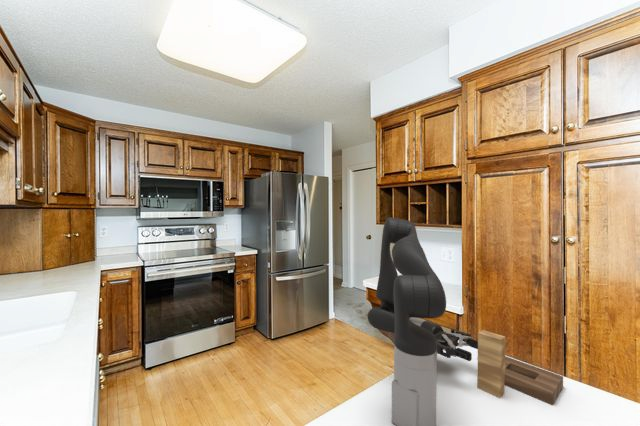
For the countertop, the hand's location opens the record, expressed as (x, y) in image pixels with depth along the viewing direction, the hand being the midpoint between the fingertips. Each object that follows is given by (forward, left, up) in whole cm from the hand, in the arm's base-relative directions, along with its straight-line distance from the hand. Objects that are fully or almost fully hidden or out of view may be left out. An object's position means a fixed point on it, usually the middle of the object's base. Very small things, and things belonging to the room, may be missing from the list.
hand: (477, 351), depth 79 cm
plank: (0, -3, -9) cm, 10 cm away
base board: (+11, -7, -9) cm, 16 cm away
